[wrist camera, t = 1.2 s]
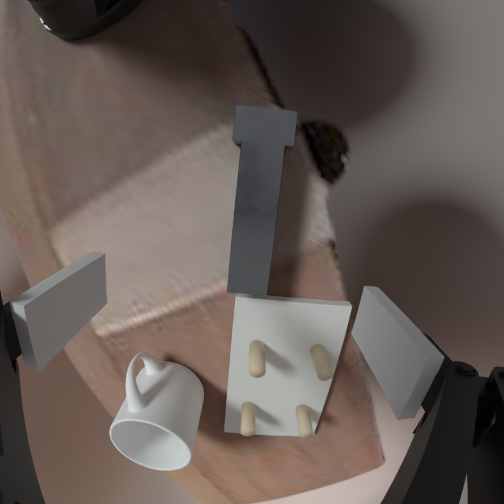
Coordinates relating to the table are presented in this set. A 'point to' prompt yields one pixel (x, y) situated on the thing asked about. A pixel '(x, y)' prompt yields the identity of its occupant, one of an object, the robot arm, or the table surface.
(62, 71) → the table surface
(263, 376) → the rack
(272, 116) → the grey bar
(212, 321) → the table surface
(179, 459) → the mug
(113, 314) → the table surface
